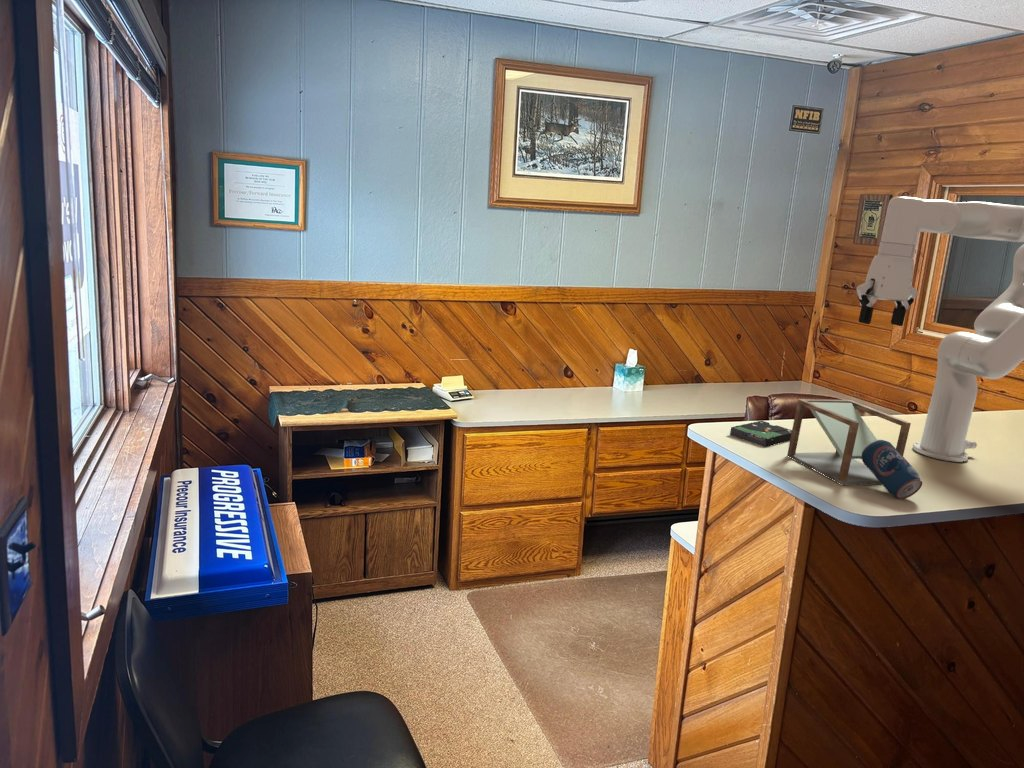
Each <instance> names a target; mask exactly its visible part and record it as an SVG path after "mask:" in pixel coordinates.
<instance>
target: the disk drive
mask: <svg viewBox="0 0 1024 768" xmlns="http://www.w3.org/2000/svg"><path fill="white" fill-rule="evenodd" d="M791 433H792V429H789V428H787V427H783V426H780V425H772V424H770V422H767V421H764V420H758V421H757V420H756V421H753V422H749V423H744V424H743V423H742V424H740V425H735V426H731V428H730V432H729V436H730V437H733V438H737V439H740V440H743V441H745V442H749V443H751V444H754V445H758V446H761V447H763V448H767V447H771V445H772V446H775V445H778V443H779V444H783V443H786V442H790V438H791ZM774 444H775V445H774Z"/></svg>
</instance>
